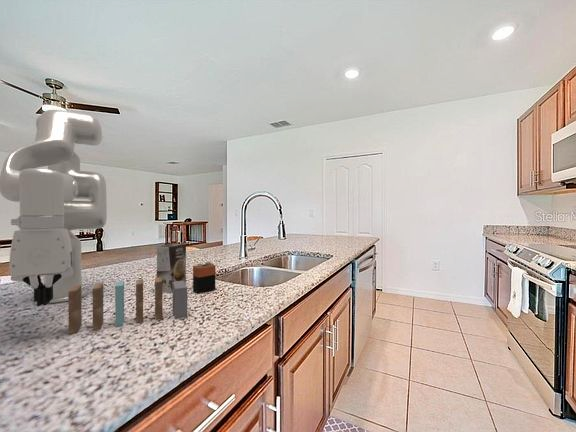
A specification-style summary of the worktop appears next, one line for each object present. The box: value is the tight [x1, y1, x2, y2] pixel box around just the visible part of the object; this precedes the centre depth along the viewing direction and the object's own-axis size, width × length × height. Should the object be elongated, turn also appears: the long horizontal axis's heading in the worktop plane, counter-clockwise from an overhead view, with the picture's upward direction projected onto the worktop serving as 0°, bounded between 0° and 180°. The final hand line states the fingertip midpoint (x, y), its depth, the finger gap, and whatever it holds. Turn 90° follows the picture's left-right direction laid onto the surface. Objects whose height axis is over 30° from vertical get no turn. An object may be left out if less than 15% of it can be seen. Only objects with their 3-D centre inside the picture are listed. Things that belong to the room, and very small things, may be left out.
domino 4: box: [135, 278, 144, 324], centre depth 71 cm, size 2×5×10 cm, turn 28°
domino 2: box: [91, 282, 104, 331], centre depth 67 cm, size 2×5×10 cm, turn 28°
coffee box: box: [156, 243, 187, 293], centre depth 100 cm, size 9×6×16 cm
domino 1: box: [67, 285, 83, 335], centre depth 65 cm, size 2×5×10 cm, turn 28°
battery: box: [192, 261, 216, 294], centre depth 97 cm, size 4×7×10 cm, turn 137°
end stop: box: [171, 281, 188, 320], centre depth 76 cm, size 3×8×8 cm, turn 28°
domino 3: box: [114, 280, 125, 328], centre depth 69 cm, size 2×5×10 cm, turn 28°
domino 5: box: [154, 277, 164, 321], centre depth 73 cm, size 2×5×10 cm, turn 28°
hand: (43, 303), depth 62 cm, fingers closed
